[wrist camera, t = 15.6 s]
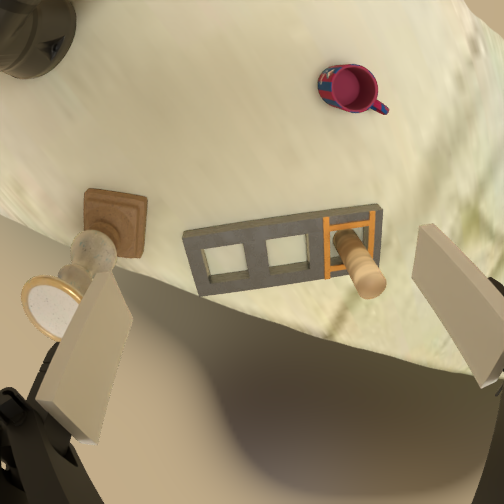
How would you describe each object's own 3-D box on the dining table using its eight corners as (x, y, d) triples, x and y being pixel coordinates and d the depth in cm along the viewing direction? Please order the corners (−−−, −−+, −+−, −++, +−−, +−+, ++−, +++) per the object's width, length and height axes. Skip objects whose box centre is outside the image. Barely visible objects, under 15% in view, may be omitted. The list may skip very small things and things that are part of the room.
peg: (332, 229, 54) (359, 277, 42) (356, 226, 53) (387, 271, 41) (333, 251, 56) (357, 301, 44) (356, 247, 56) (384, 296, 44)
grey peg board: (184, 231, 52) (181, 239, 50) (377, 203, 51) (383, 210, 49) (200, 288, 59) (199, 297, 56) (374, 261, 57) (379, 270, 55)
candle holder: (143, 254, 54) (102, 357, 34) (88, 243, 53) (28, 336, 32) (148, 196, 49) (94, 287, 28) (87, 187, 47) (9, 266, 27)
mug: (333, 56, 39) (348, 54, 33) (383, 96, 42) (403, 101, 36) (308, 90, 41) (320, 92, 36) (360, 128, 45) (377, 137, 39)
